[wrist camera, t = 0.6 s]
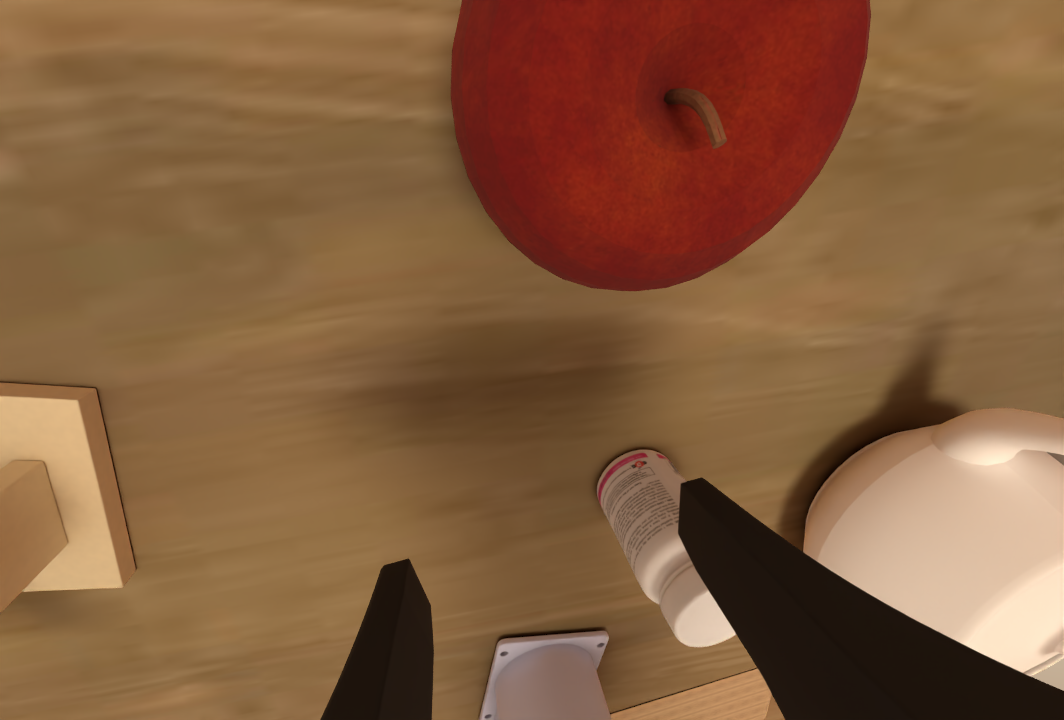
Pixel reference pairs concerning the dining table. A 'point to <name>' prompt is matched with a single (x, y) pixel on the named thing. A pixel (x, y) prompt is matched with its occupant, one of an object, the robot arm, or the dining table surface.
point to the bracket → (58, 494)
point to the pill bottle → (659, 544)
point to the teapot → (957, 530)
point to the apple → (649, 125)
